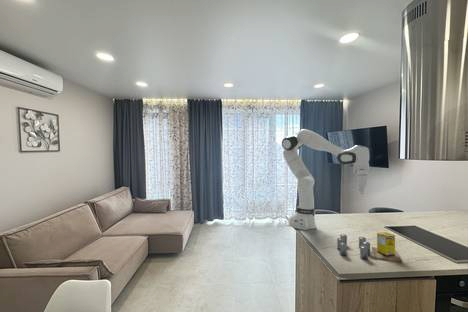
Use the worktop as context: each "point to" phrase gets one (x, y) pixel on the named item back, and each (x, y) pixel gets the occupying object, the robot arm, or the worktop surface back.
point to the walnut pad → (388, 258)
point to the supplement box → (386, 243)
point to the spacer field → (363, 246)
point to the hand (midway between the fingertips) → (361, 192)
